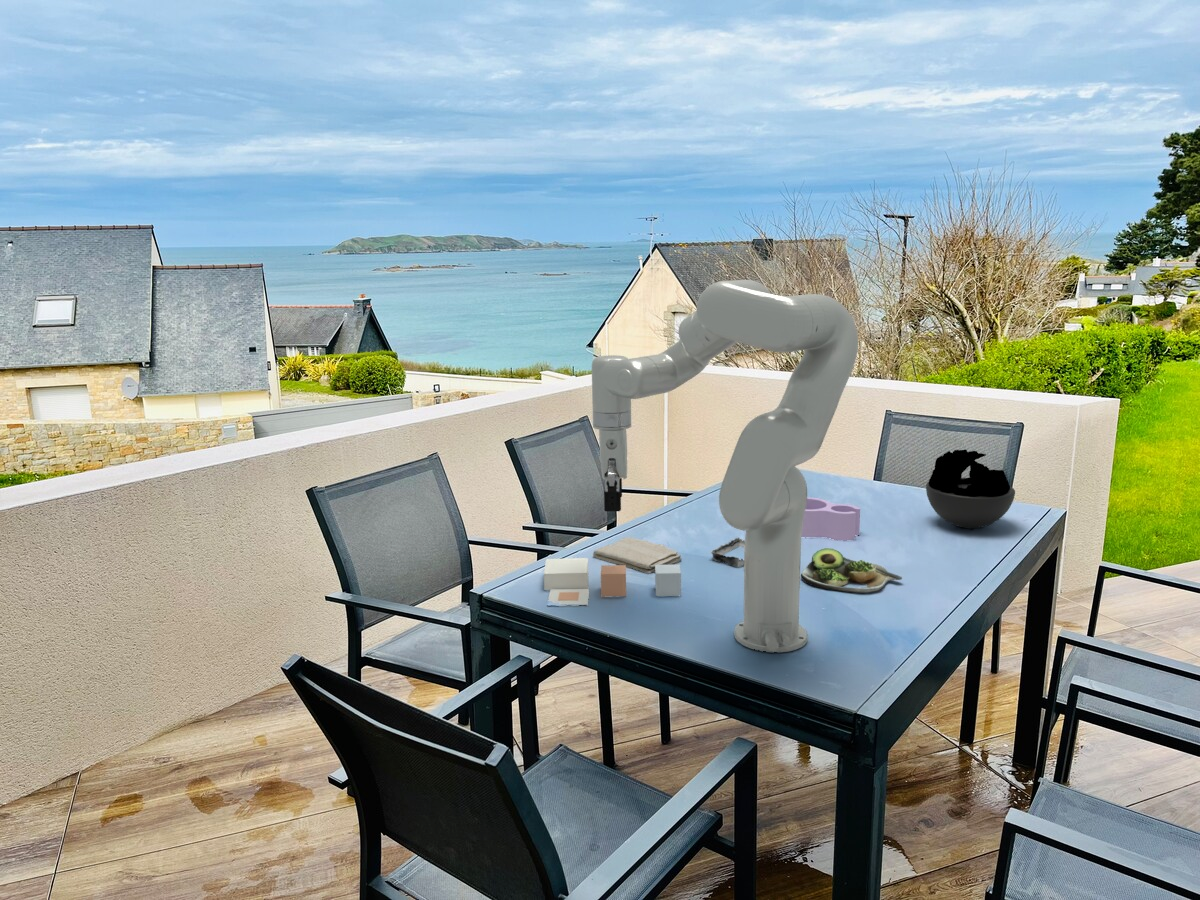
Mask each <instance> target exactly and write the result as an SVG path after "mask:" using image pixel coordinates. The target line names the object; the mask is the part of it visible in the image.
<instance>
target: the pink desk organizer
mask: <svg viewBox="0 0 1200 900" xmlns="http://www.w3.org/2000/svg"><path fill="white" fill-rule="evenodd" d="M860 525H861V508H860V507H859V506H856V505H853V504H845V503H835V502H831V501H828V500H826V499H822V498H817V497H809V496H807V504H806V509H805V514H804V520H803V526H802V537H827V538H826V539H829V538H831V539H830V540H832V539H834V540H833V541H838V540H843V541H842V542H848V541H847V540H853V541H856V540H855V539H856V537H859V536H860ZM855 535H857V536H855ZM858 535H859V536H858Z"/></svg>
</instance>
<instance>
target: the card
mask: <svg viewBox="0 0 1200 900" xmlns="http://www.w3.org/2000/svg"><path fill="white" fill-rule="evenodd" d="M589 591H591V590H590V588H588V589H551V590H550V591H549V595H548V599H549V600H548V599H547V602H548V601H552V602H553V603H559V604H561V605H567V604H568V605H588V606H589V600H588V599H590V592H589ZM555 601H556V602H555Z"/></svg>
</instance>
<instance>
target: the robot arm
mask: <svg viewBox="0 0 1200 900" xmlns="http://www.w3.org/2000/svg"><path fill="white" fill-rule="evenodd" d="M857 329H858V328H857V326H856V323H855V320H854V318H853V317H852V315H851V313H850V312H849V310H848V309H847V308H846V307H845V306H844V305H843V304H842V303H841V302H840V301H839V300H837V299H835V298H833V297H831V296H828V295H826V294H818V293H807V294H800V295H777V294H772V293H771V292H770V290H769V289H768V288H767V287H766V286H765V285H764V284H762V283H760V282H758V281H756V280H752V279H737V280H720V281H717V282H714V283H712V284H710V285H708V286H707V287H706V288H705V289H704V290H703V292H701V294H700V296H699V297H698V300H697V303H696V310H695V311H694V312H692V313H691V314H690V315H688V316H687V317H686V318H684V319H683V320H682V321H681V322H680V324H679V325H678V337H679V340H678V341H677V342H676V343H674V344H673V345H672V346H670V347H669V348H667V349H665V350H664V351H662V352H661V353H658V354H652V355H651V354H650V355H646V356H639V357H633V358H628V357H626V356H623V355H617V354H616V355H615V354H611V355H600V356H597V357H596V356H595V357H594V359H593V360H592V363H591V387H592V388H591V389H592V390H591V392H592V395H591V397H592V398H591V399H592V428H593V429H595V430H598V433H599V434H598V436H599V439H598V441H599V461H600V471H601V478H602V479H603V480H604V490H603V501H604V504H603V507H604V509H603V510H604V511H605V512H621V511H622V497H623V482H622V481H623V480H626V479H627V478H628V437H627V436H628V435H627V430H628V429H630V428H632V400H639V399H643V398H647V397H653V396H657V395H662V394H666V393H669V392H673V390H676V389H677V388H679V387H681V386H682V385H684V384H686V383H687V382H689V381H691V380H692V379H693V378H694V377H697V376H698V375H699V374H701V373H702V371H704V370H705V368H706V367H707V366H708V365H709V364H710V361H711V360H713V359H714V358H715V357H718V356H719V355H721V354H722V353H723V352H725V351H727V350H728V349H729V348H731V347H733V346H734V345H735V344H737V343H740V344H742V345H748V346H751V347H753V348H758V349H761V350H765V351H769V352H773V353H783V354H785V353H794V352H799V351H803V350H804V353H803V355H802V356H801V359H800V361H799V362H798V364H797V365H796V367H795V368H794V370H793V372H792V374H791V376H790V377H789V380H788V382H787V386H786V388H785V391H784V393H783V396H782V399H780V401H779V404H778V406H777V407H776V408H775V409H774V410H772V411H768V412H764V413H761V414H759V415H757V416H756V417H754V418H752V419H751V420H750V421H748V423H747V424H746V426H745V427H744V428H743V430H742V432H741V433H740V434H739V437H738V439H737V442H736V443H735V447H734V450H733V453H732V455H731V457H730V459H729V464H728V466H727V468H726V472H725V474H724V477H723V480H722V483H721V486H720V489H719V494H718V506H719V510H720V514H721V515H722V517H723V519H724V520H725V521H726V523H727V524H728V525H729V526H731V527H733V528H734V529H735V530H739V531H745V534H744V535H745V536H744V540H745V548H744V551H743V552H744V555H743V558H744V559H743V560H744V565H743V570H744V571H743V620H742V621H741V622H739V623H738V624H737V625H736V626H735V627H734V637H735V639H736V641H737V642H738V643H739V644H740V645H742V646H743V647H746V648H748V649H751V650H754V649H755V650H754V651H758V650H760V651H759V652H763V651H766V652H765V653H774V652H777V653H787V652H792V651H795V650H799V649H801V648H802V647H804V646H805V645H806V644H807V643H808V631H807V630H806V628H804V627H803V626H802V625H801V624H800V621H799V620H800V594H801V593H800V588H801V587H800V586H801V555H802V538H801V537H802V526H803V520H804V514H805V509H806V504H807V497H808V486H807V485H808V484H807V482H806V479H805V476H804V475H803V473H802V471H801V470H800V469H799V468H798V467H796V466H799V465H802V464H804V463H805V462H808V461H810V460H812V459H813V458H814V457H815V456H816V455H817V454H818V452H819V451H820V449H821V447H822V445H823V442H824V440H825V437H826V434H827V432H828V430H829V427H830V424H831V422H832V420H833V418H834V416H835V412H836V411H837V408H838V405H839V403H840V400H841V397H842V395H843V393H844V389H845V388H846V386H847V384H848V381H849V379H850V378H851V375H852V372H853V370H854V366H855V363H856V361H857V355H858V351H859V334H858V330H857Z"/></svg>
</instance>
